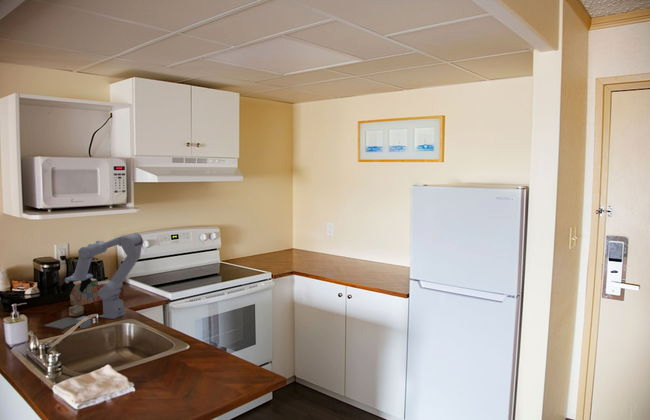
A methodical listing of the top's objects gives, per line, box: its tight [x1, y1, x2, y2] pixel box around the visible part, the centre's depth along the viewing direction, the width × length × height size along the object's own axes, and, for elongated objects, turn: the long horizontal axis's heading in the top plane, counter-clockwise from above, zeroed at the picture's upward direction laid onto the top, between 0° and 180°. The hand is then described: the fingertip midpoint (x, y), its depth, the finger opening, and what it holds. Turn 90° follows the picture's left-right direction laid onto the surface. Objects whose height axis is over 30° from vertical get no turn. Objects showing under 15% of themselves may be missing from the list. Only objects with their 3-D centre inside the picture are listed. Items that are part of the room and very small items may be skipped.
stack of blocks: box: [69, 278, 111, 307], centre depth 254 cm, size 21×6×12 cm, turn 143°
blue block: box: [75, 315, 92, 329], centre depth 215 cm, size 4×4×4 cm
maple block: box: [68, 305, 85, 317], centre depth 232 cm, size 4×4×4 cm
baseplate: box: [43, 317, 76, 330], centre depth 218 cm, size 12×12×1 cm
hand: (74, 292), depth 232 cm, fingers open, 7 cm apart
